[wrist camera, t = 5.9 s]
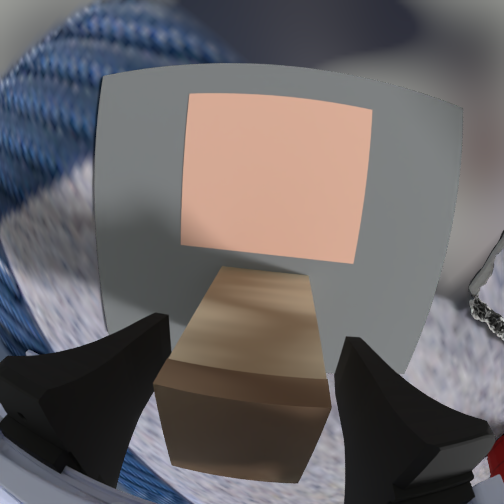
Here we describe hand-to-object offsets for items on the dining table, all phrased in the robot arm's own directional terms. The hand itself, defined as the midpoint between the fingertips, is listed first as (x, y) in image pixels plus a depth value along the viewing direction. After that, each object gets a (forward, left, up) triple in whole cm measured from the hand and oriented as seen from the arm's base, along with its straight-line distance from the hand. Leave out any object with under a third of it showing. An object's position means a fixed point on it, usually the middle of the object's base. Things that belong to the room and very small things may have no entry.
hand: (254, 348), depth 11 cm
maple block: (0, 0, -3) cm, 3 cm away
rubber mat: (0, +4, -3) cm, 5 cm away
